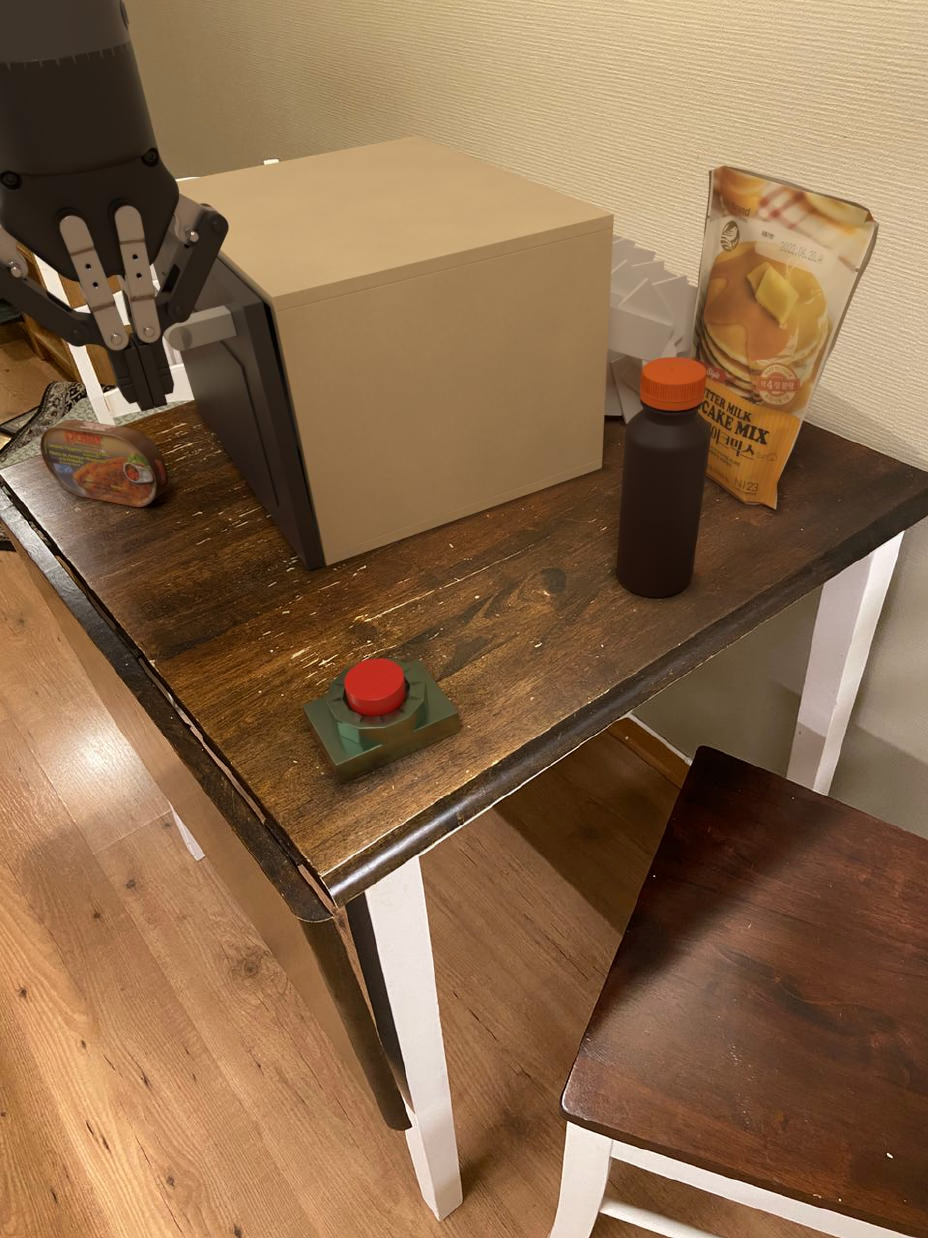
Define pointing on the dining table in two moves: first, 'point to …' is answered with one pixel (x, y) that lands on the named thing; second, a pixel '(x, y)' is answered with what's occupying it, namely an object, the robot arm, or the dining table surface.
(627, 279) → the spiral staircase
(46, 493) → the dining table surface
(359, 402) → the oven
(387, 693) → the button
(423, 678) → the button base
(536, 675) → the dining table surface
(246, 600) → the dining table surface
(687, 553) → the bottle
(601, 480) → the dining table surface
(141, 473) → the tin
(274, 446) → the oven door
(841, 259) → the pancake mix bag
